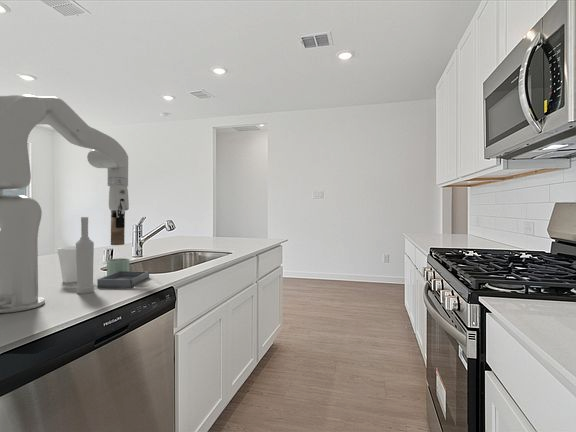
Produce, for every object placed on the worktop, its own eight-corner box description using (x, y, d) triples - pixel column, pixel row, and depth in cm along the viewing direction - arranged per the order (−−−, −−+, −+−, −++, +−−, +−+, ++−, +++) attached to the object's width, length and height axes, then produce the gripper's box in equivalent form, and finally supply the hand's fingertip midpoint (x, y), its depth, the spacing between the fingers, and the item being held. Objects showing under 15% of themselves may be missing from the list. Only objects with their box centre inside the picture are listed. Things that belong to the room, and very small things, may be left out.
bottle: (72, 292, 112) (71, 217, 111) (86, 289, 116) (86, 216, 116) (83, 294, 110) (83, 217, 109) (97, 290, 115) (97, 217, 114)
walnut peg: (120, 245, 136) (120, 217, 136) (108, 245, 136) (108, 217, 136) (126, 244, 141) (126, 217, 141) (114, 243, 141) (114, 217, 141)
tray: (131, 288, 119) (131, 279, 118) (97, 287, 119) (97, 279, 118) (149, 279, 134) (149, 271, 133) (118, 278, 134) (118, 271, 133)
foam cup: (93, 279, 131) (92, 246, 131) (75, 285, 122) (75, 249, 122) (70, 278, 132) (70, 245, 132) (51, 284, 123) (51, 248, 123)
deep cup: (123, 277, 135) (123, 261, 135) (102, 277, 135) (102, 261, 135) (132, 273, 143) (132, 258, 143) (113, 273, 143) (113, 258, 143)
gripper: (135, 182, 134) (135, 228, 135) (120, 184, 147) (120, 226, 147) (115, 181, 129) (115, 228, 129) (101, 183, 141) (101, 226, 142)
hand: (117, 226), depth 138 cm, fingers closed on walnut peg, 5 cm apart
